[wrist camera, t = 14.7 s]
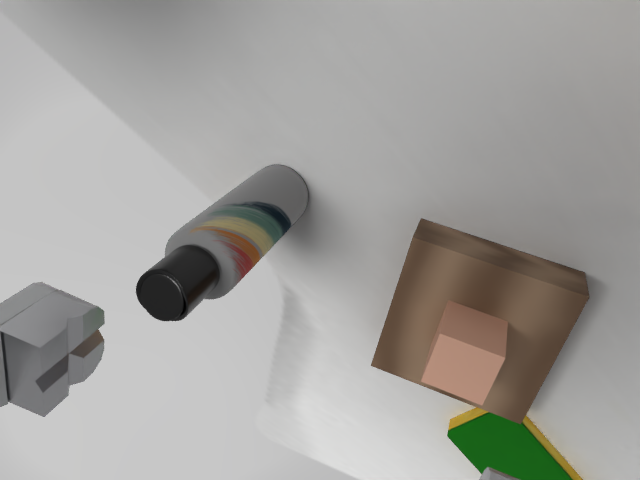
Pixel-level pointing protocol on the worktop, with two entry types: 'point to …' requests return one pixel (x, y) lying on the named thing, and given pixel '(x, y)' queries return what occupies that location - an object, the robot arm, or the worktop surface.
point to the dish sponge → (508, 447)
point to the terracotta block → (466, 352)
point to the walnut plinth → (482, 310)
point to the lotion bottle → (223, 243)
